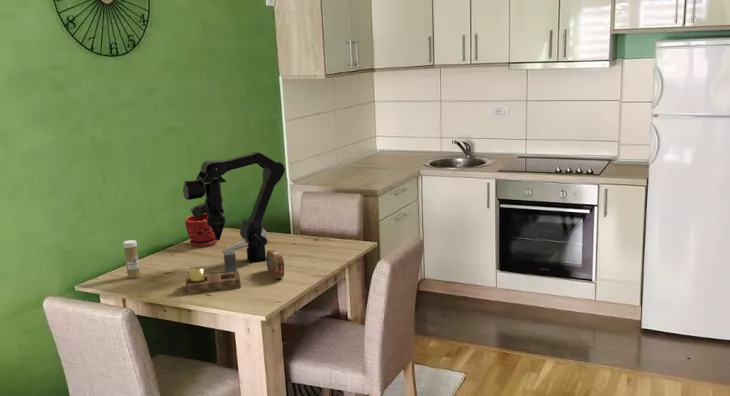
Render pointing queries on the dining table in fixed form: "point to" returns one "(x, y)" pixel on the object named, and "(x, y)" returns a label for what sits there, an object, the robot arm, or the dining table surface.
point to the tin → (275, 264)
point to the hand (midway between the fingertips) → (217, 236)
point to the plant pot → (200, 231)
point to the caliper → (245, 242)
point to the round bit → (197, 275)
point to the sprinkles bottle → (131, 258)
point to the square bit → (230, 261)
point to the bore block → (214, 283)
